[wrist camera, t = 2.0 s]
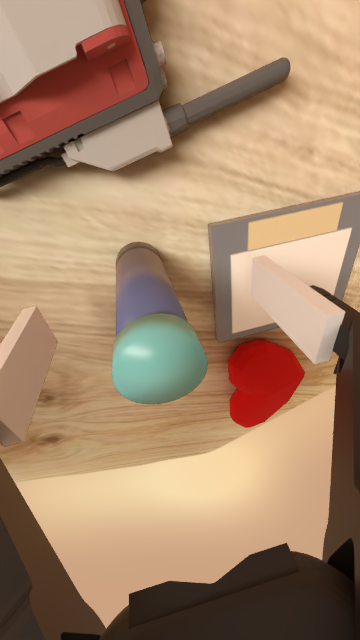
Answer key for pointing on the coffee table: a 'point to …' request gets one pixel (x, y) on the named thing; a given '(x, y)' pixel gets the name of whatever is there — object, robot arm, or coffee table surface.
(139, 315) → the marker
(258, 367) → the heart
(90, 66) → the walkie-talkie
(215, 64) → the coffee table surface
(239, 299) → the clipboard
